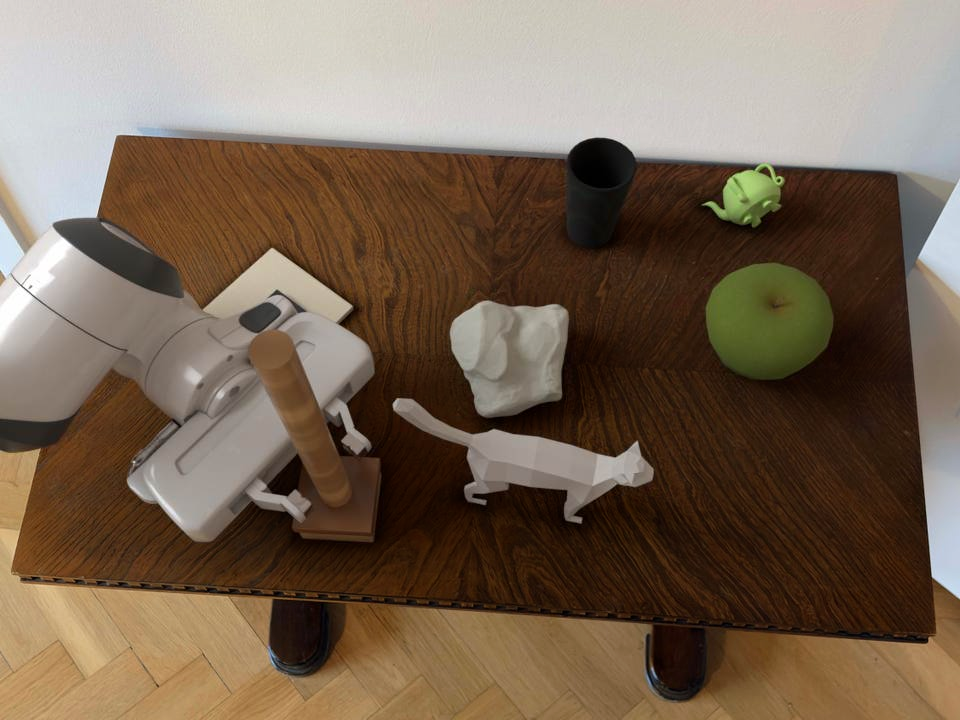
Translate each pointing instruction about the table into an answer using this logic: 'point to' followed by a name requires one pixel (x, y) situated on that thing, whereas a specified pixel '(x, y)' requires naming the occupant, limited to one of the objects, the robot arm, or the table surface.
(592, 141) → the cup
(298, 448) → the wooden post stand
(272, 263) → the tile
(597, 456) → the cat figurine
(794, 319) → the apple
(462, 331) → the decorative stone
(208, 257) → the table surface
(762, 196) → the green kettle
